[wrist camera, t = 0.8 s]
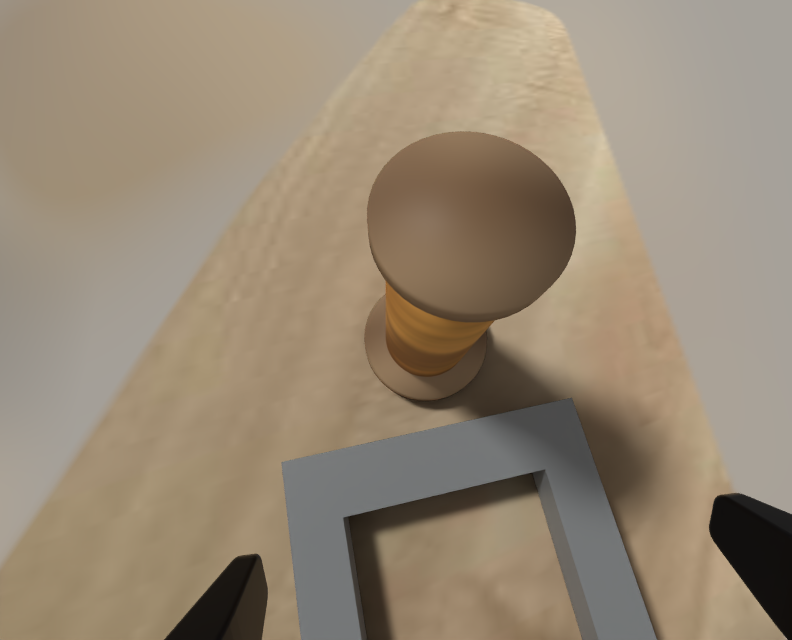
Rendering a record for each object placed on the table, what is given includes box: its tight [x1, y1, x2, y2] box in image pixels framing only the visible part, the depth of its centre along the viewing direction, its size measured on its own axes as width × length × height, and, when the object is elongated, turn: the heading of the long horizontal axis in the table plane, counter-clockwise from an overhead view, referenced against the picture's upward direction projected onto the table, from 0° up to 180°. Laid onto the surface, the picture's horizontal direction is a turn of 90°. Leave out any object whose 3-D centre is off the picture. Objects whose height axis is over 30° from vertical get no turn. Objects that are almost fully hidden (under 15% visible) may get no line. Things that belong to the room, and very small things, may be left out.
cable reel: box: [365, 132, 576, 401], centre depth 16 cm, size 7×7×13 cm
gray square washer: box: [282, 398, 657, 640], centre depth 17 cm, size 16×15×2 cm
